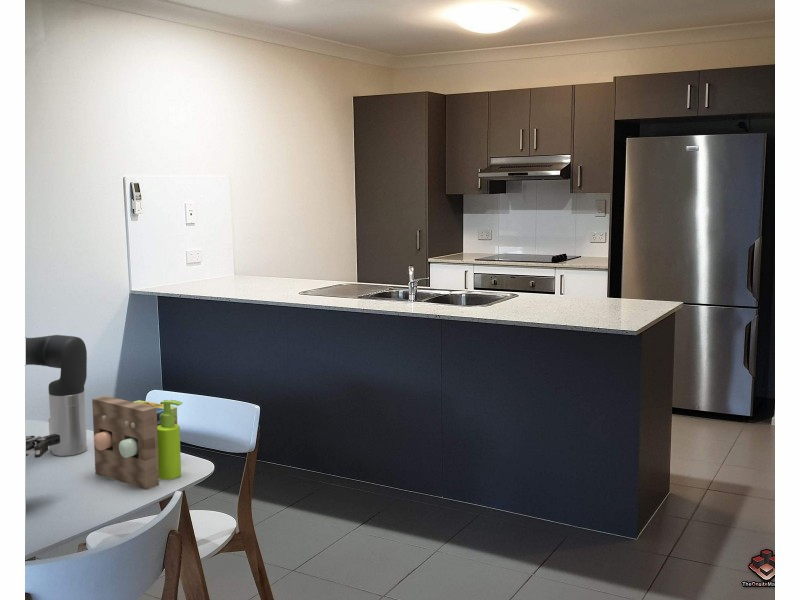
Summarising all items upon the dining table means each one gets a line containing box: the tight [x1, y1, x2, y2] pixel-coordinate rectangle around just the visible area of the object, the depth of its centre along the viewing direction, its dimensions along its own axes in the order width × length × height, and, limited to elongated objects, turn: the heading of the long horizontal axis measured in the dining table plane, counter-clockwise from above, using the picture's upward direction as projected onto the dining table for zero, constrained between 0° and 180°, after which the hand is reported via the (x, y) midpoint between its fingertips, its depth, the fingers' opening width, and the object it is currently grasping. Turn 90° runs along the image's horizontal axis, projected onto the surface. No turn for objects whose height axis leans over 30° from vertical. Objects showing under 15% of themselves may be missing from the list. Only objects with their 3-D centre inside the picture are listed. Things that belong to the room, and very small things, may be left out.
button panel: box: [91, 395, 160, 490], centre depth 195 cm, size 20×4×20 cm, turn 57°
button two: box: [119, 437, 138, 458], centre depth 190 cm, size 4×3×4 cm
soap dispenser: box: [157, 399, 183, 481], centre depth 198 cm, size 6×7×20 cm
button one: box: [93, 431, 113, 450], centre depth 196 cm, size 4×3×4 cm
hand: (58, 438), depth 185 cm, fingers closed
